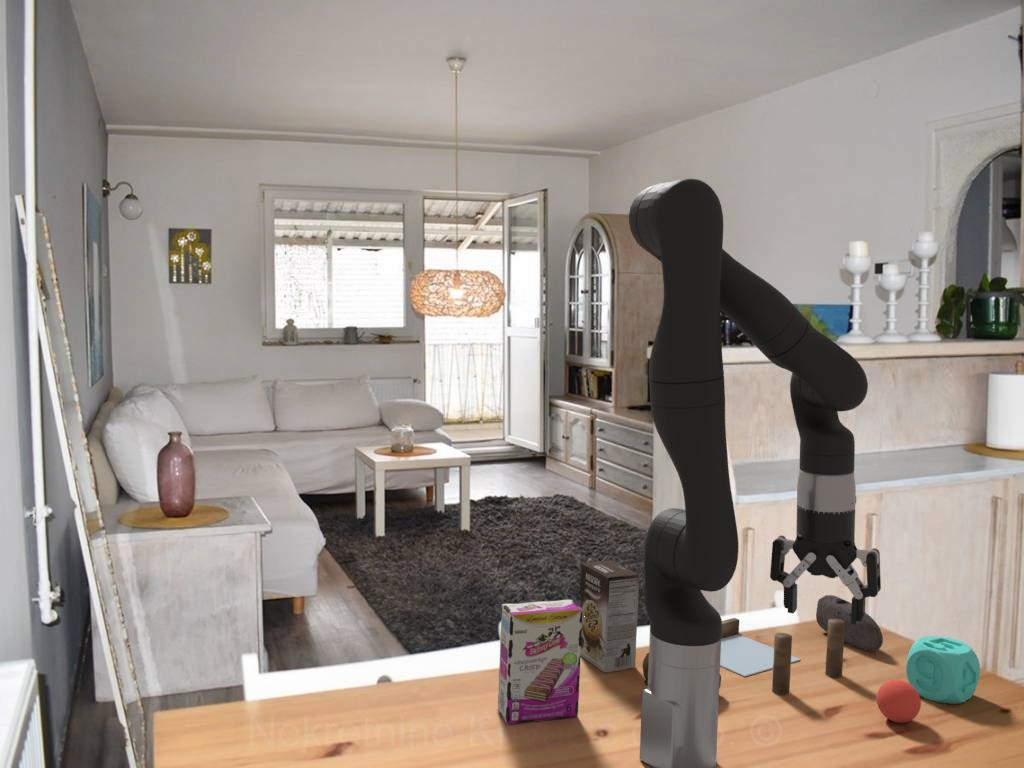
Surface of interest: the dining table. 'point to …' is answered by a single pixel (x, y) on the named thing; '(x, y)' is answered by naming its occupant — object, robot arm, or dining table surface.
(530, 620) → the candy bar box
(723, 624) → the stopper rail
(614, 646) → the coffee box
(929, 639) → the decorative dice
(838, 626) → the post right
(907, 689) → the ball
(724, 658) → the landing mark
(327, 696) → the dining table surface
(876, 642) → the perforated stone tool
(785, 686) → the post left
